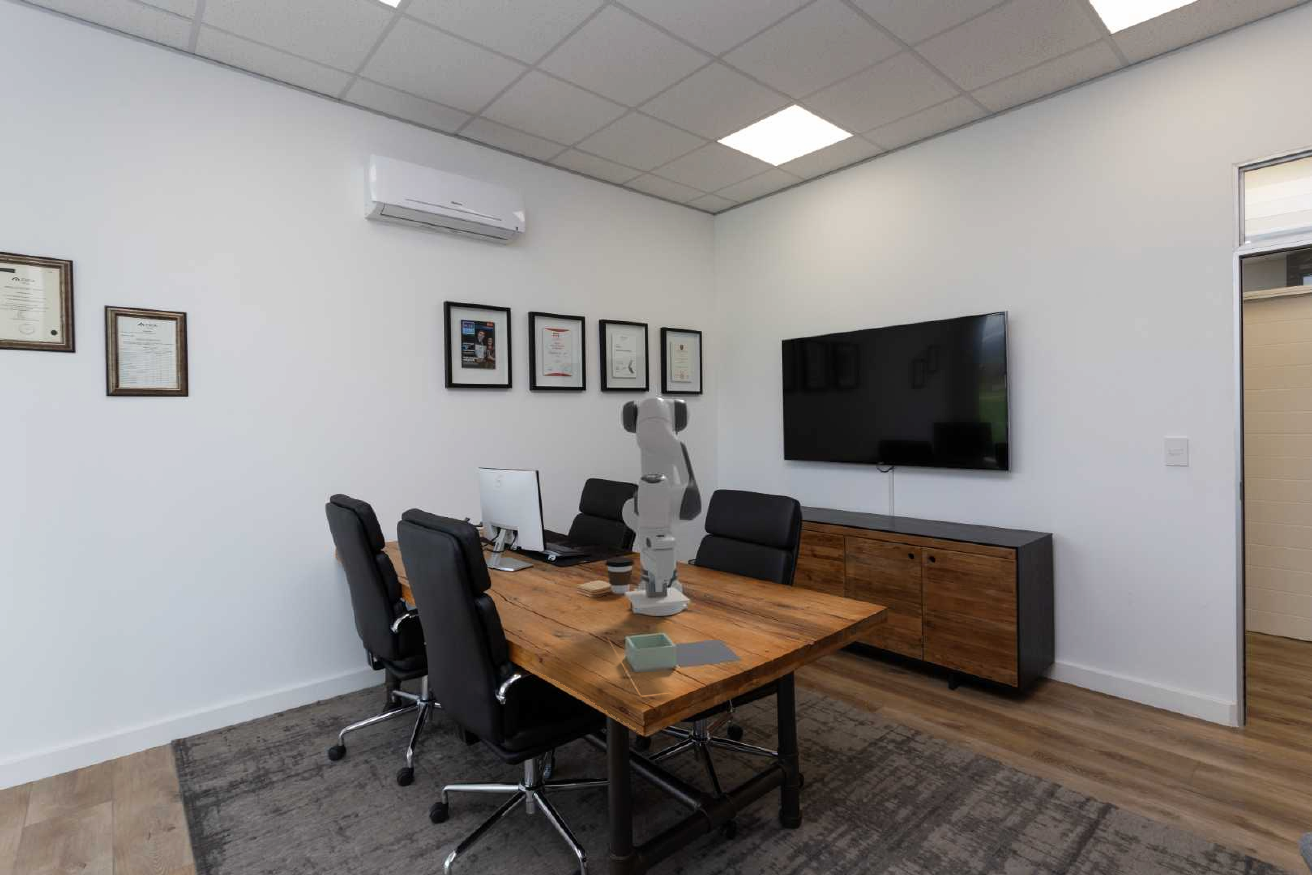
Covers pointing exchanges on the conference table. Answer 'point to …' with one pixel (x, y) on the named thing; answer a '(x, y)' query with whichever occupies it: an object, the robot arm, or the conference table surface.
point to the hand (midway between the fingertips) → (656, 589)
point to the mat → (704, 653)
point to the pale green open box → (650, 652)
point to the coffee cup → (619, 573)
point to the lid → (656, 596)
